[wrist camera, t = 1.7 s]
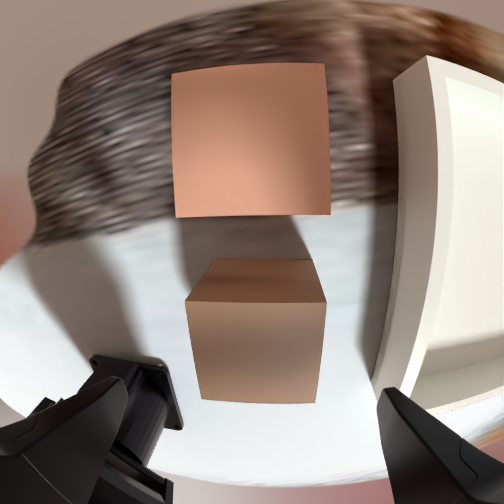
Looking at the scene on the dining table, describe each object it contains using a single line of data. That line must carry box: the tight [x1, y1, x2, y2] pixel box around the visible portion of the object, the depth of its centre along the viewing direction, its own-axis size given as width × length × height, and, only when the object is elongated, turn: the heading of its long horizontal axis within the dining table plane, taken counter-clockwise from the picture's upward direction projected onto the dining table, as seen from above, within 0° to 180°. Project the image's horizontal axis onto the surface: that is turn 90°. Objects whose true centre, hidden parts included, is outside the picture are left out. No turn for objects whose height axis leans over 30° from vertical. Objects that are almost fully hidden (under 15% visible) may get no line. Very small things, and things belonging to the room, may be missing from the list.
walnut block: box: [185, 260, 327, 404], centre depth 13 cm, size 5×5×5 cm
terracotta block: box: [171, 63, 331, 218], centre depth 11 cm, size 5×5×5 cm
